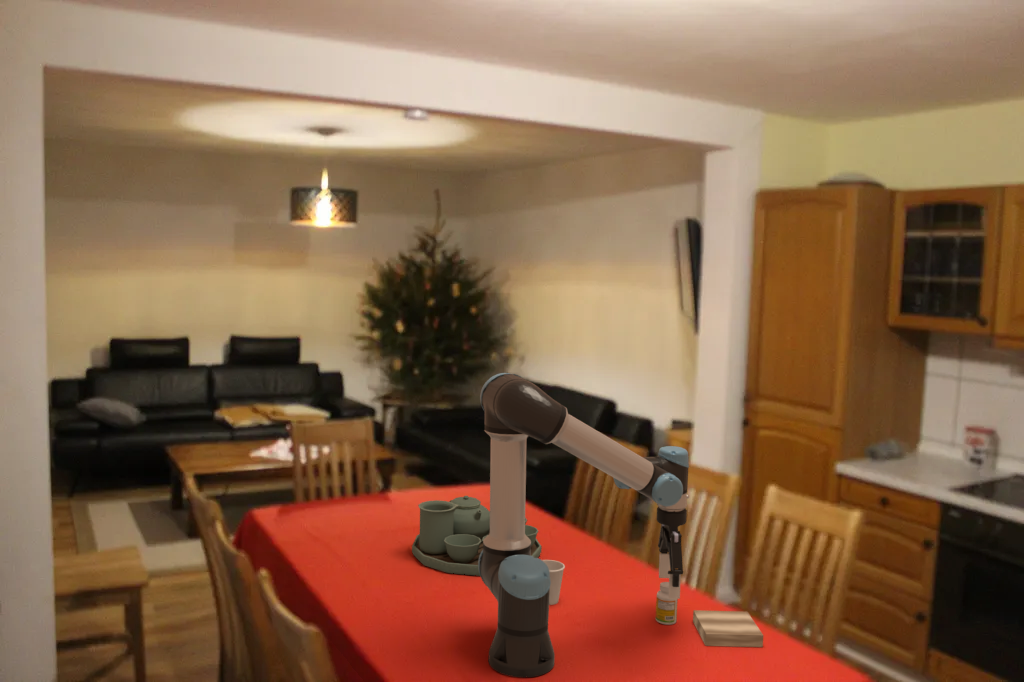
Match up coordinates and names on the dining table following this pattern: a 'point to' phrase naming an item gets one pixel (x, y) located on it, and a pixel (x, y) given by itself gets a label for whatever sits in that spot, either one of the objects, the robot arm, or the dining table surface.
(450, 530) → the tea set
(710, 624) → the birch stand
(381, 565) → the dining table surface
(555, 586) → the dixie cup
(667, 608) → the supplement bottle
